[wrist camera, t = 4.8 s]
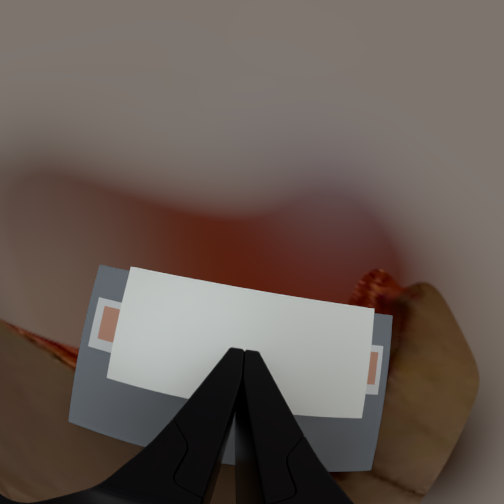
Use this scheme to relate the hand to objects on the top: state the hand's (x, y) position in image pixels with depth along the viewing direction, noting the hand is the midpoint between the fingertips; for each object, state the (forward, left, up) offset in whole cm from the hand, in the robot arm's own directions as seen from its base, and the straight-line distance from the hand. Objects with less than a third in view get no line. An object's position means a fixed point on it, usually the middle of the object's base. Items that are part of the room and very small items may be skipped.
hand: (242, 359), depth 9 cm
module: (0, -1, -12) cm, 12 cm away
